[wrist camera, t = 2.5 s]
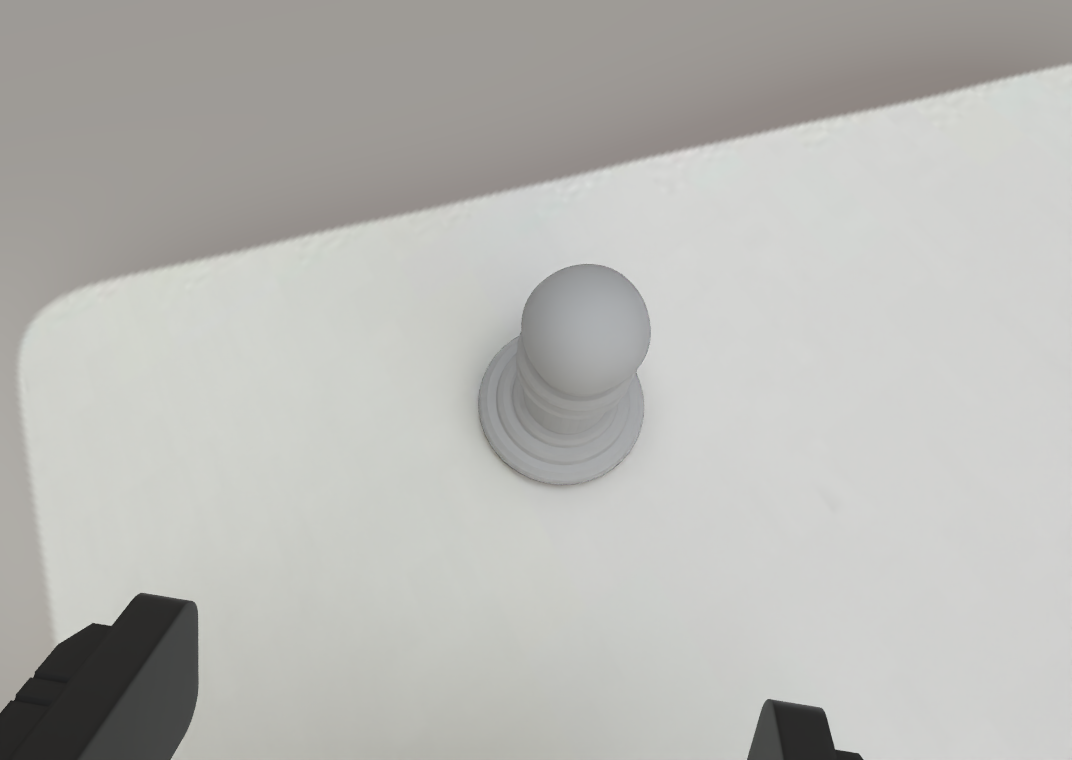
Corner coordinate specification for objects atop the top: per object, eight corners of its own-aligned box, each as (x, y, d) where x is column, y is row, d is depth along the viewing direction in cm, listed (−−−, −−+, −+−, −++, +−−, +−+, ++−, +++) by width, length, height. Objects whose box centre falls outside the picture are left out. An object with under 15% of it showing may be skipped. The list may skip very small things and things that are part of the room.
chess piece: (667, 453, 32) (737, 361, 23) (514, 512, 31) (527, 439, 22) (603, 310, 33) (646, 174, 25) (455, 363, 32) (446, 240, 24)
